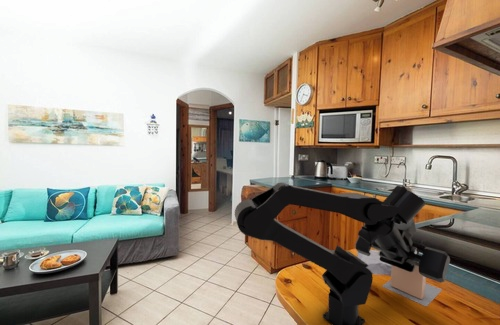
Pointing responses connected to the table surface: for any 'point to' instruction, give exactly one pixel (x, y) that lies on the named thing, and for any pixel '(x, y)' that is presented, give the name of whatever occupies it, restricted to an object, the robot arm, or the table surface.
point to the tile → (409, 281)
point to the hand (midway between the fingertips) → (407, 268)
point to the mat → (429, 296)
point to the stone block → (375, 263)
